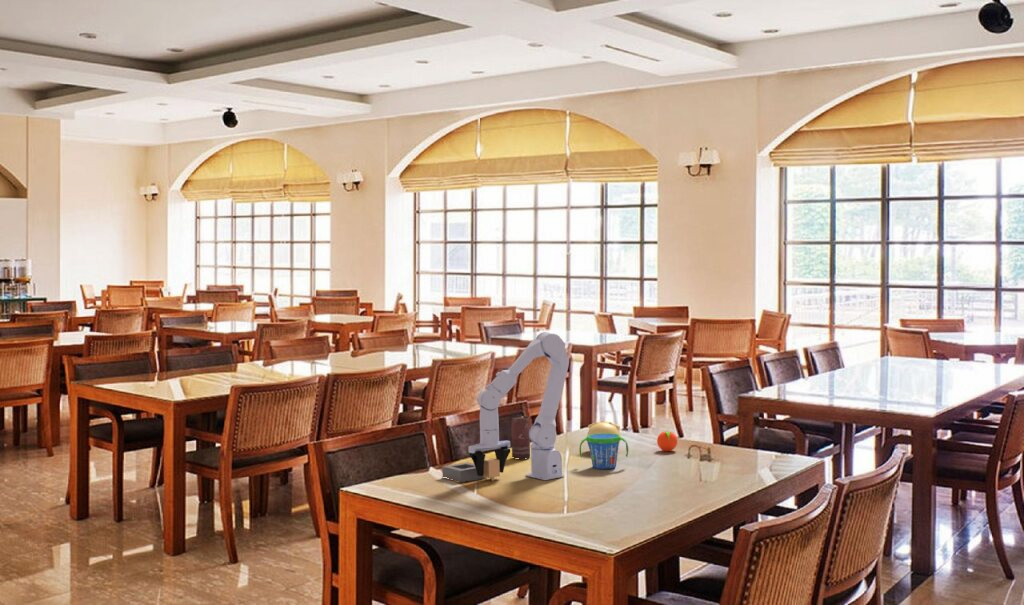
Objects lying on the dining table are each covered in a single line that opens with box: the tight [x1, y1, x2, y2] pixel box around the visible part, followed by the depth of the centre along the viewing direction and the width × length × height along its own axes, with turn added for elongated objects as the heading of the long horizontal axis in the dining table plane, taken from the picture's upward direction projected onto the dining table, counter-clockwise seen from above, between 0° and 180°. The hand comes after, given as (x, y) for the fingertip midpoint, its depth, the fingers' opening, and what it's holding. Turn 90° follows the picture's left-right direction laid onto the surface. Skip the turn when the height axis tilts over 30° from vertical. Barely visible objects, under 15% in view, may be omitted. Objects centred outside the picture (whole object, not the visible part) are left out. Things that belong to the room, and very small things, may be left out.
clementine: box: [656, 430, 678, 452], centre depth 341 cm, size 8×7×7 cm
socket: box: [441, 461, 484, 483], centre depth 304 cm, size 10×10×4 cm
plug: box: [483, 457, 501, 482], centre depth 300 cm, size 4×4×6 cm
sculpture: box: [586, 420, 621, 448], centre depth 343 cm, size 12×12×11 cm
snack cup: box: [579, 433, 629, 470], centre depth 315 cm, size 16×10×10 cm
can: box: [510, 415, 531, 459], centre depth 334 cm, size 6×6×14 cm
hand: (490, 473), depth 300 cm, fingers open, 7 cm apart
